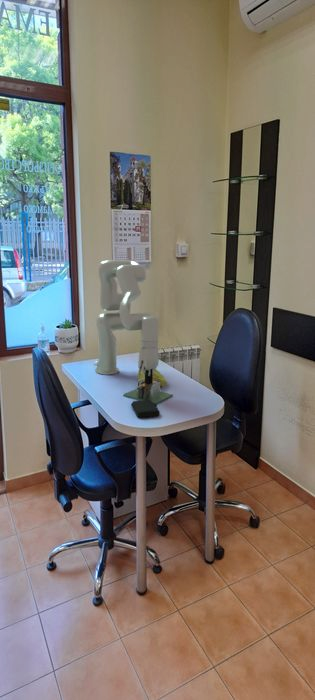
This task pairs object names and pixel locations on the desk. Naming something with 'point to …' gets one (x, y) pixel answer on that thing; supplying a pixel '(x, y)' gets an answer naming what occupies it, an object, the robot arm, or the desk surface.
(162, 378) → the plastic component
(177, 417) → the desk surface
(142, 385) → the tan rectangular block
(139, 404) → the carrying case or bag
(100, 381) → the desk surface
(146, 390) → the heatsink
